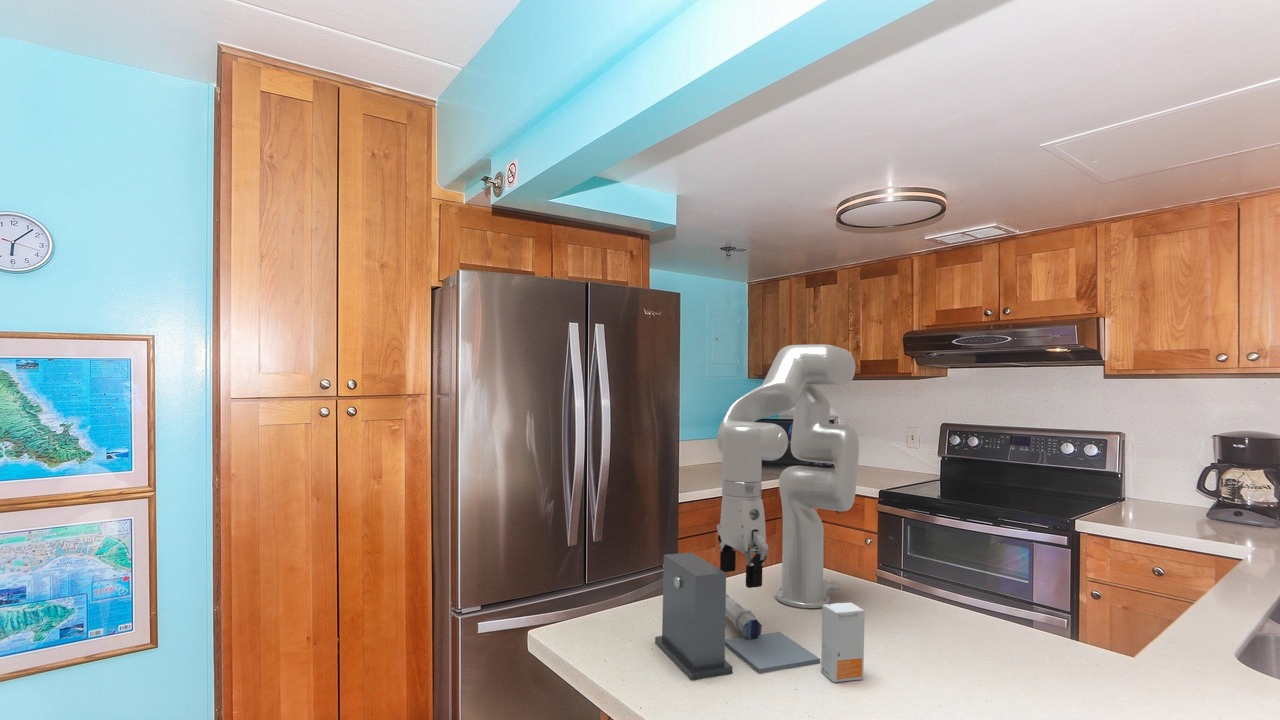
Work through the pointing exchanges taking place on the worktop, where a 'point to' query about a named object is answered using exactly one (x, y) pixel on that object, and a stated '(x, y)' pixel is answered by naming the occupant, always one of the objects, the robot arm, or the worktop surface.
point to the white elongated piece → (742, 619)
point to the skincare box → (842, 642)
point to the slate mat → (771, 652)
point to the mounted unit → (694, 616)
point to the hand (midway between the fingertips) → (740, 578)
